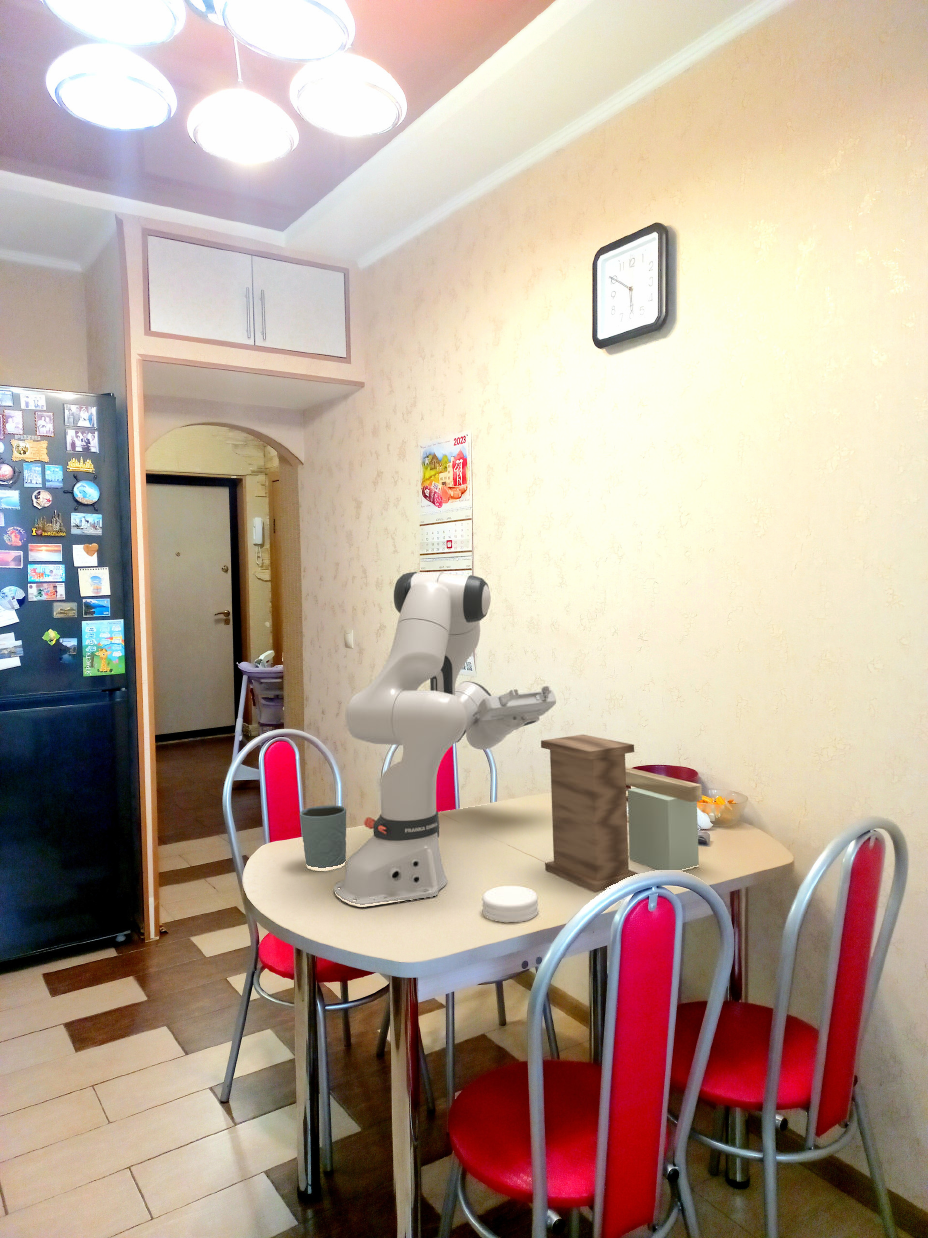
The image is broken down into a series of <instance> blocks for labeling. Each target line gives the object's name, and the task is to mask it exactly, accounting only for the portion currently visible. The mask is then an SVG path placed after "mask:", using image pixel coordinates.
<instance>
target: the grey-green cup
mask: <svg viewBox="0 0 928 1238" xmlns="http://www.w3.org/2000/svg"><path fill="white" fill-rule="evenodd" d="M299 819H300V827H301V835H302V836H301V837H302V842H303V851H304V857H305V865H306V864H307V865H308V866H311V867H318V868H326V867H333V866H338V865H341V864H343V863H344V862H345V861H346V862H347V857H346V856H347V855H346V854H347V808H346V807H345V806H343V805H342V806H341V805H335V804H334V805H333V804H330V805H320V806H317V805H316V806H312V807H309V808H304V809H302V810H301V811H300V812H299Z"/></svg>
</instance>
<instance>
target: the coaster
mask: <svg viewBox="0 0 928 1238" xmlns="http://www.w3.org/2000/svg"><path fill="white" fill-rule="evenodd" d="M538 898H539V897H538V894H537V893H536V892H535V891H534V890H533V889H531V888H528V887H525V886H519V885H502V886H497V887H493V888H490V889H488V890H487V891H486V892H485V893H483V894H482V898H481V899H482V900H481V901H482V905H481V906H482V908H483V909H482V913H483V916H484V915H485V916H486V917H488V918H491V919H493V920H497V921H501V922H515V923H514V924H517V923H516V922H518V923H523V921H524V922H527V921H530V920H532V919H534V918H535V917H536V916H537V915H538V913H539V908H538V906H539V903H538ZM485 916H484V917H485ZM486 917H485V918H486ZM488 918H487V919H488ZM501 922H500V923H501Z"/></svg>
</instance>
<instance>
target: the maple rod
mask: <svg viewBox="0 0 928 1238" xmlns="http://www.w3.org/2000/svg"><path fill="white" fill-rule="evenodd" d="M625 768H626V786H629V787H632V788H639V789H643V790H647V791H651V792H654V793H658V794H662V795H666V796H669V797H673V798H677V799H681V800H685V801H688V802H695V801H697V802H698V801H702V800H703V787H702V784H699V783H695V782H691V781H686V780H682V779H678V778H674V777H669V776H666V775H661V774H657V773H652V772H648V771H645V770H639V769H636V768H632V767H627V766H625Z"/></svg>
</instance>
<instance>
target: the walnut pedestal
mask: <svg viewBox="0 0 928 1238" xmlns="http://www.w3.org/2000/svg"><path fill="white" fill-rule="evenodd" d="M540 748H541V749H544V750H545V749H546V750H549V756H550V757H549V759H550V761H549V762H550V786H551V787H550V788H551V817H552V818H551V819H552V821H551V823H552V844H553V845H552V848H553V849H552V851H553V860H552V861H548V862H545V863H544V867H545V868H544V869H545V871H546V872H548V873H551V874H552V875H555V876H558V877H559V878H562V879H564V880H566V881H568V882H571V883H573V884H575V885H577V886H579V887H582V888H584V889H587V890H588V891H591V892H593V893H596V892H597V893H598V892H601V891H605V890H606V889H605V888H607V887H609V886H611V885H613V884H616V883H618V882H619V881H621V880H623V879H625V878H627V877H630V876H633V875H635V874H638V875H639V873H638V872H637V871H634V870H631V869H629V867H630V866H629V865H630V864H629V831H628V799H627V785H626V768H625V767H626V754H631V753H635V744H632V743H629V742H622V741H617V740H612V739H608V738H603V737H598V736H592V735H588V734H577V735H570V736H564V737H555V738H548V739H542V740H540ZM604 889H605V890H604Z"/></svg>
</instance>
